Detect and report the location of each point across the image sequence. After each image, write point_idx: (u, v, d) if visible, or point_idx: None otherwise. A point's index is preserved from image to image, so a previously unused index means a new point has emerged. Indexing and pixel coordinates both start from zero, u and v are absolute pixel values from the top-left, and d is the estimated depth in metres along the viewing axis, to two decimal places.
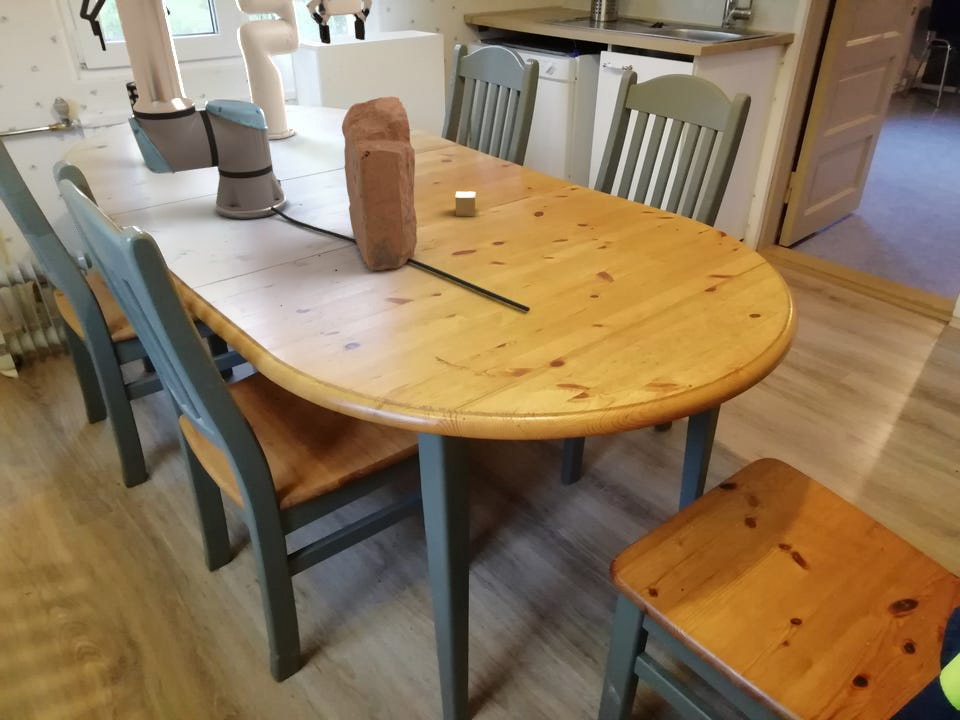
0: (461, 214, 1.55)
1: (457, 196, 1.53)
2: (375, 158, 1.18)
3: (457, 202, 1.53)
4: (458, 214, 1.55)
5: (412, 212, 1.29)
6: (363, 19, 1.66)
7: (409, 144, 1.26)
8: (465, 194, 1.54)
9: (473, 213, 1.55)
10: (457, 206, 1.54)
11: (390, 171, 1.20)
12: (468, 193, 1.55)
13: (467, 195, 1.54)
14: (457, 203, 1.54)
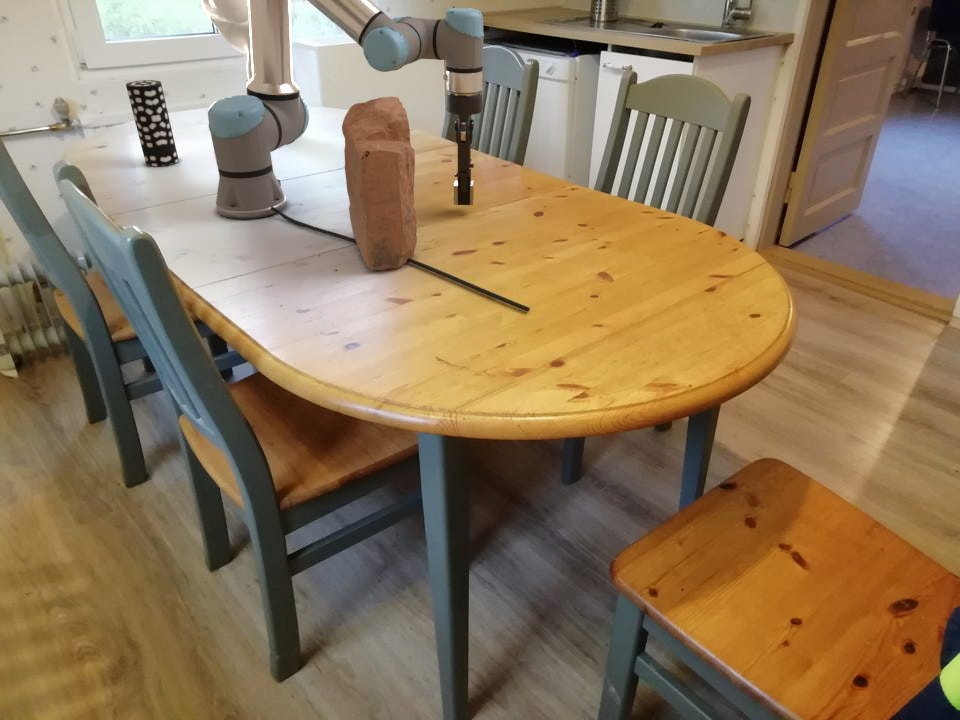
0: None
1: (455, 184, 1.52)
2: (375, 158, 1.18)
3: (455, 191, 1.52)
4: (456, 203, 1.54)
5: (412, 212, 1.29)
6: None
7: (409, 144, 1.26)
8: None
9: (471, 202, 1.54)
10: (455, 195, 1.53)
11: (390, 171, 1.20)
12: None
13: None
14: (455, 192, 1.52)
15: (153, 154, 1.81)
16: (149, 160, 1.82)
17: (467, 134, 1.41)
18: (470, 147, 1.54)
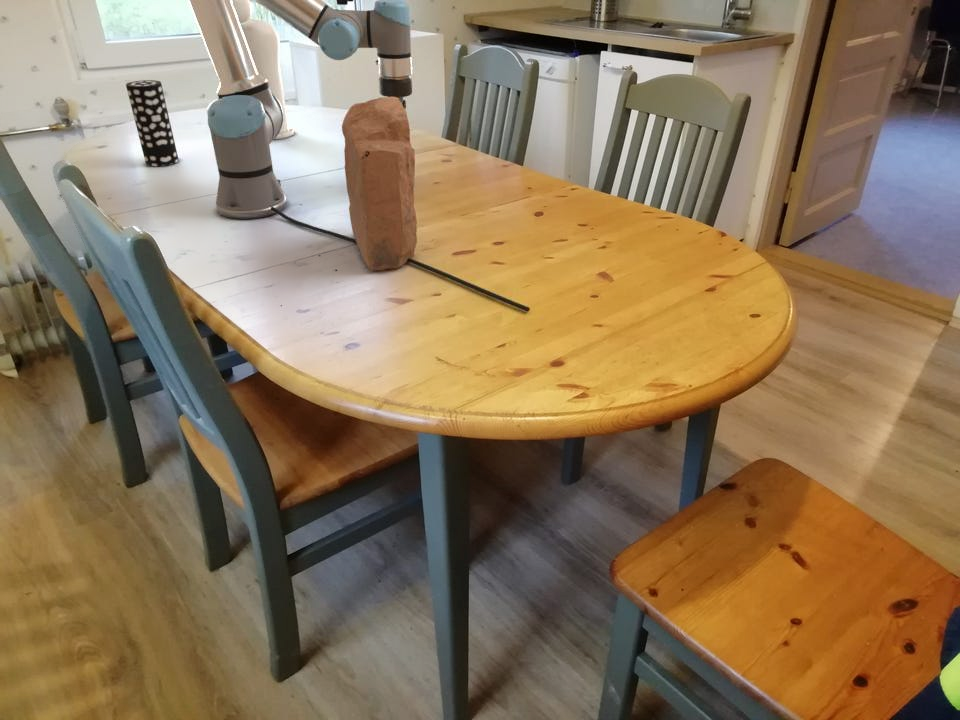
0: None
1: None
2: (375, 158, 1.18)
3: None
4: None
5: (412, 212, 1.29)
6: None
7: (409, 144, 1.26)
8: None
9: None
10: None
11: (390, 171, 1.20)
12: None
13: None
14: None
15: (153, 154, 1.81)
16: (149, 160, 1.82)
17: None
18: None
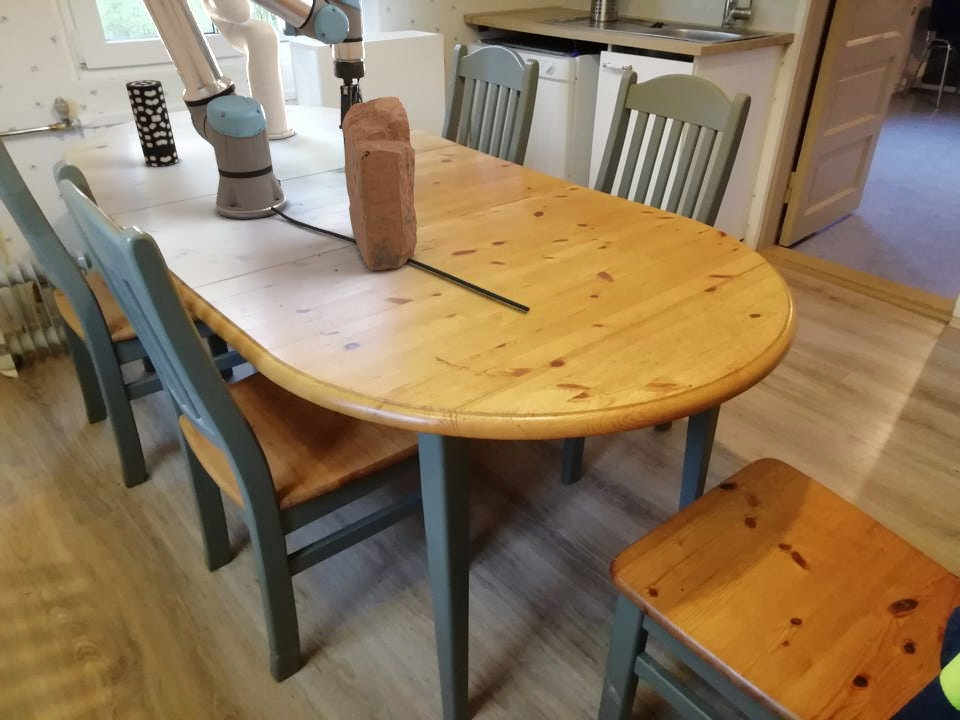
0: None
1: None
2: (375, 158, 1.18)
3: None
4: None
5: (412, 212, 1.29)
6: None
7: (409, 144, 1.26)
8: None
9: None
10: None
11: (390, 171, 1.20)
12: None
13: None
14: None
15: (153, 154, 1.81)
16: (149, 160, 1.82)
17: (349, 87, 1.65)
18: (361, 100, 1.80)
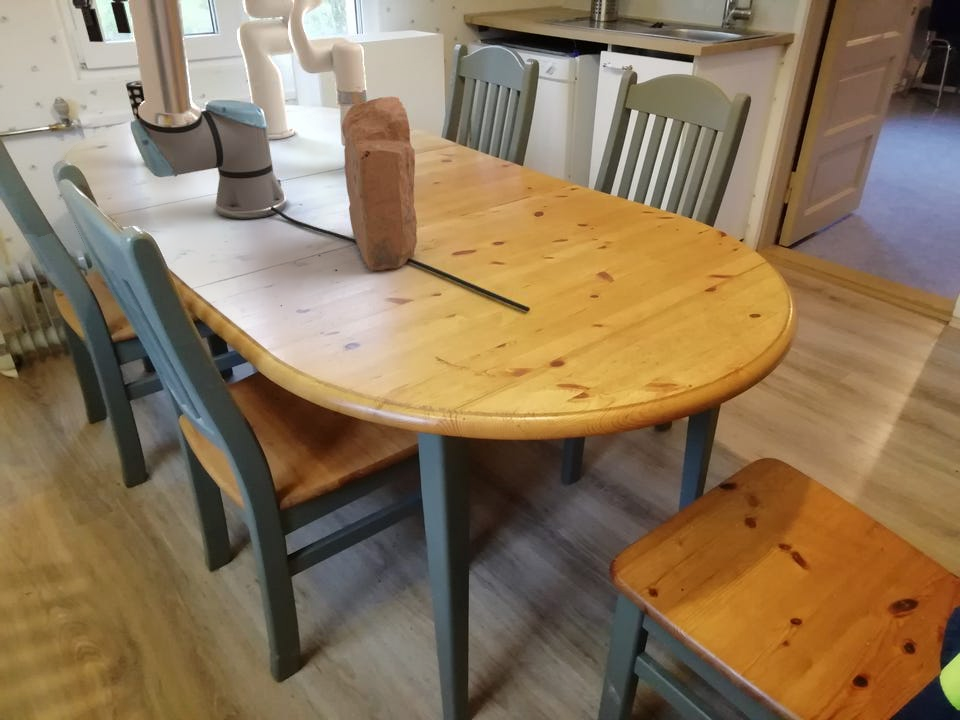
0: None
1: None
2: (375, 158, 1.18)
3: None
4: None
5: (412, 212, 1.29)
6: None
7: (409, 144, 1.26)
8: None
9: None
10: None
11: (390, 171, 1.20)
12: None
13: None
14: None
15: None
16: None
17: None
18: None
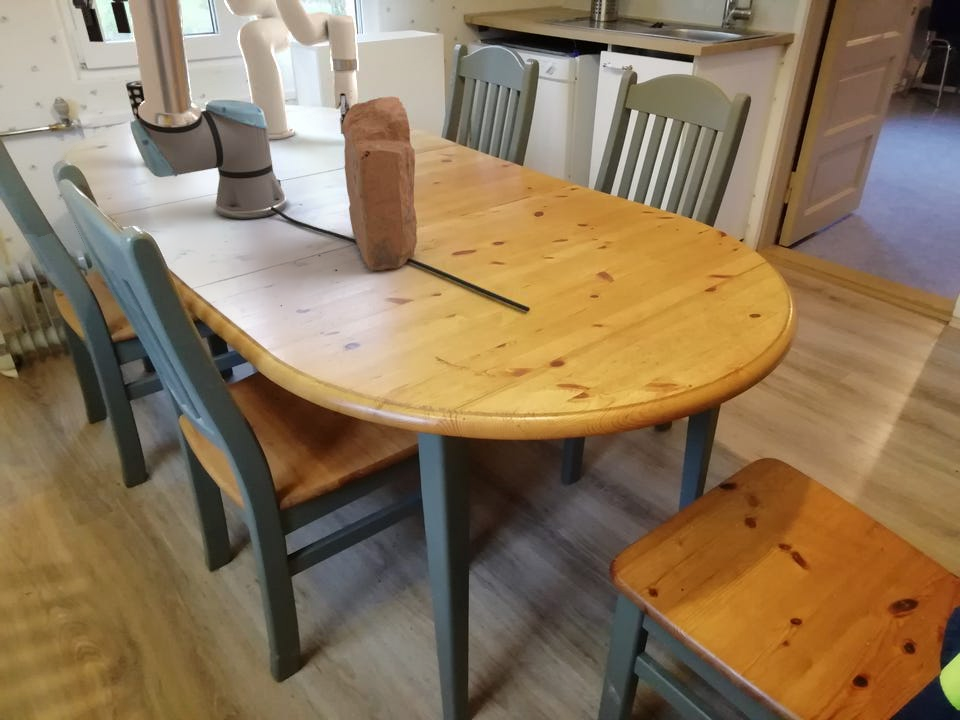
0: None
1: None
2: (375, 158, 1.18)
3: (341, 122, 1.99)
4: None
5: (412, 212, 1.29)
6: None
7: (409, 144, 1.26)
8: None
9: None
10: (341, 126, 2.00)
11: (390, 171, 1.20)
12: None
13: None
14: (341, 123, 1.99)
15: None
16: None
17: None
18: None
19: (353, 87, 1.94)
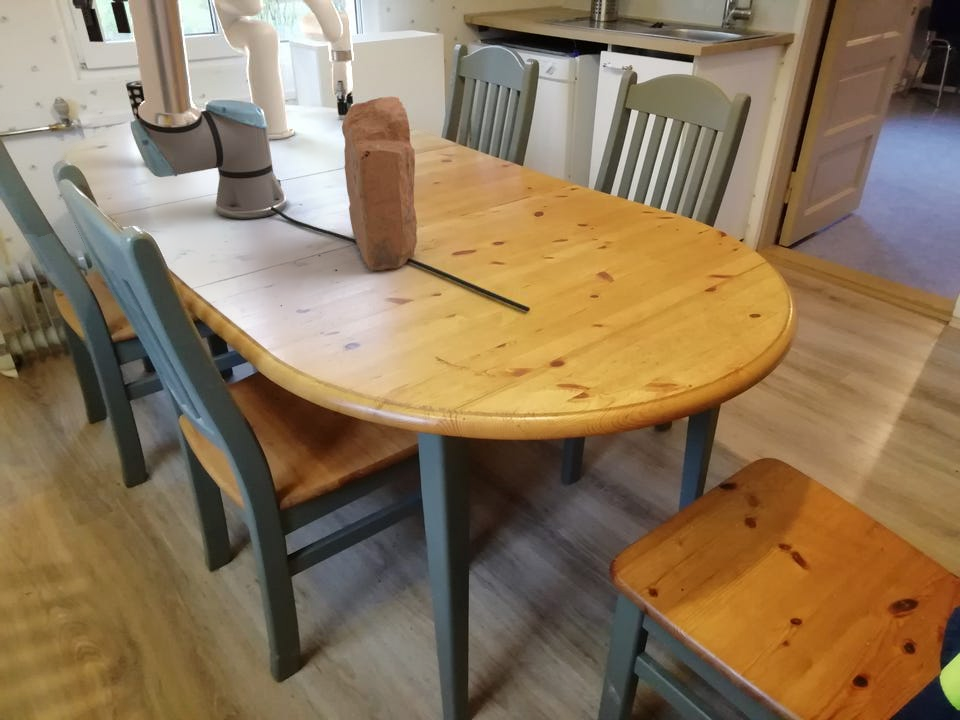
0: (343, 118, 2.27)
1: None
2: (375, 158, 1.18)
3: None
4: (341, 118, 2.28)
5: (412, 212, 1.29)
6: (351, 93, 2.30)
7: (409, 144, 1.26)
8: None
9: None
10: None
11: (390, 171, 1.20)
12: (347, 104, 2.28)
13: None
14: None
15: None
16: None
17: None
18: None
19: (349, 75, 2.20)
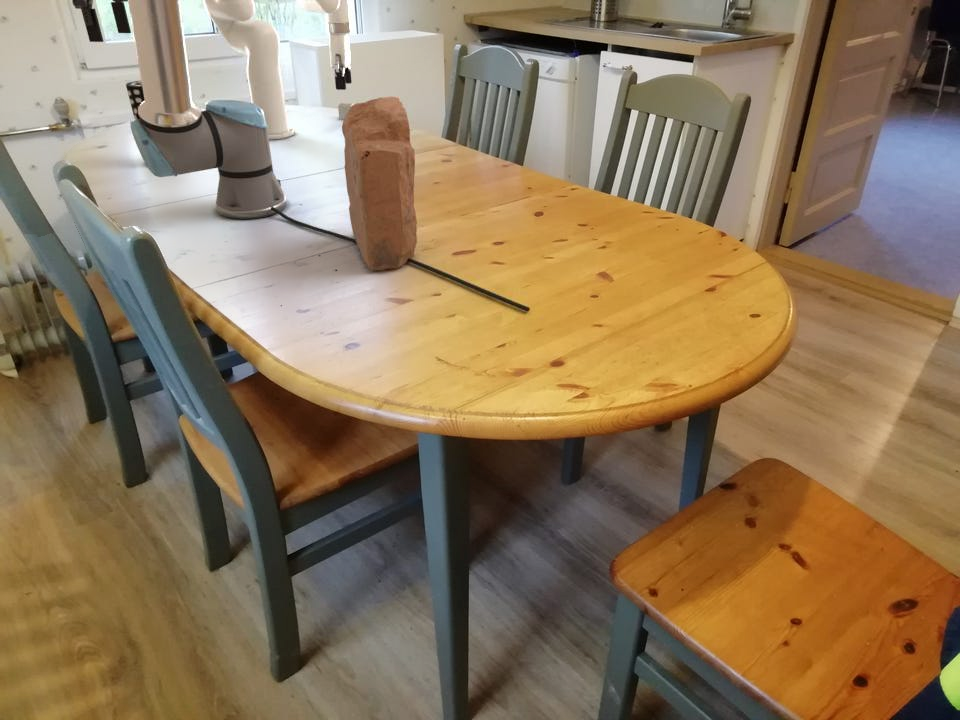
0: (343, 118, 2.27)
1: (339, 105, 2.26)
2: (375, 158, 1.18)
3: (339, 109, 2.26)
4: (341, 118, 2.28)
5: (412, 212, 1.29)
6: (349, 68, 2.26)
7: (409, 144, 1.26)
8: (345, 104, 2.27)
9: None
10: (339, 112, 2.26)
11: (390, 171, 1.20)
12: (347, 104, 2.28)
13: (347, 105, 2.27)
14: (339, 110, 2.26)
15: None
16: None
17: None
18: None
19: (347, 48, 2.16)
